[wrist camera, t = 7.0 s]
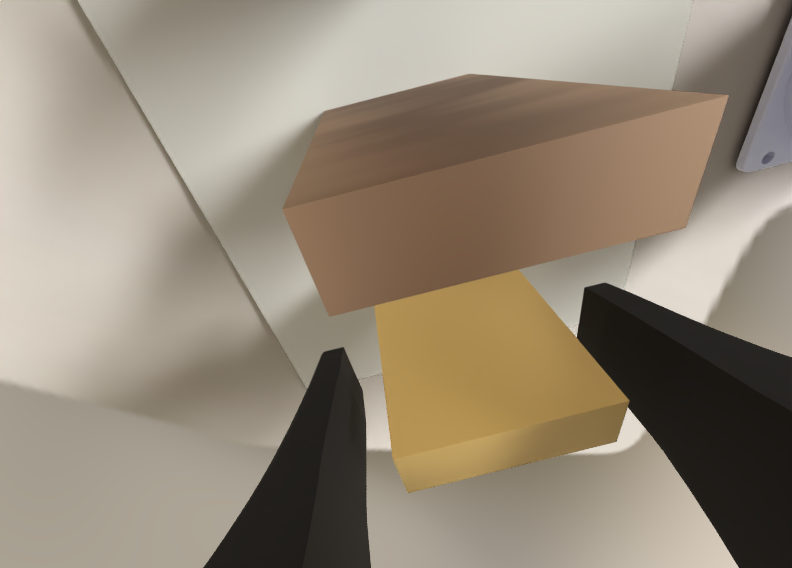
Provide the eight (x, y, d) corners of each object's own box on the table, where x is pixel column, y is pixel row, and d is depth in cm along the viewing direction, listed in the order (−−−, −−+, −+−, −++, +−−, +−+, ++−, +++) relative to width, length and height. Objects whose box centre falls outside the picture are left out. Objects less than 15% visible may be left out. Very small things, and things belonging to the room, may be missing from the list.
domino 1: (469, 73, 11) (728, 95, 4) (472, 124, 12) (685, 227, 4) (324, 111, 11) (281, 209, 4) (338, 159, 12) (329, 317, 5)
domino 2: (480, 223, 14) (629, 400, 7) (482, 254, 15) (616, 441, 8) (367, 253, 14) (393, 459, 7) (376, 282, 15) (407, 492, 8)
